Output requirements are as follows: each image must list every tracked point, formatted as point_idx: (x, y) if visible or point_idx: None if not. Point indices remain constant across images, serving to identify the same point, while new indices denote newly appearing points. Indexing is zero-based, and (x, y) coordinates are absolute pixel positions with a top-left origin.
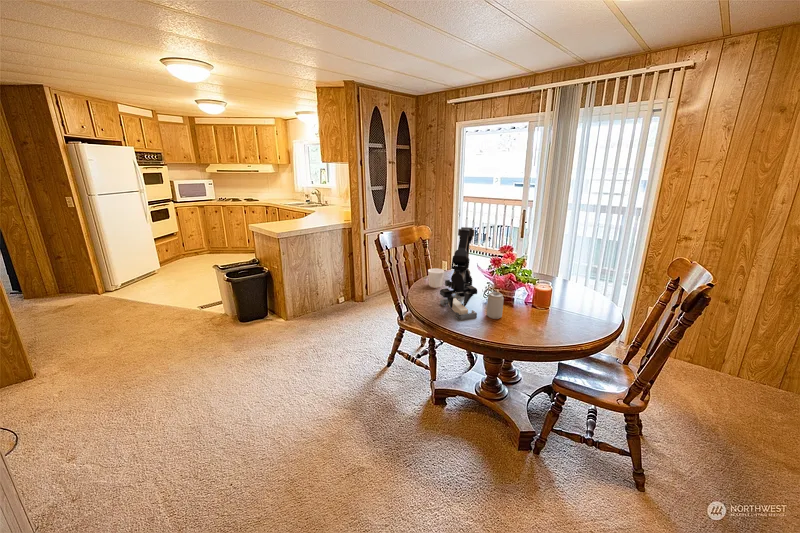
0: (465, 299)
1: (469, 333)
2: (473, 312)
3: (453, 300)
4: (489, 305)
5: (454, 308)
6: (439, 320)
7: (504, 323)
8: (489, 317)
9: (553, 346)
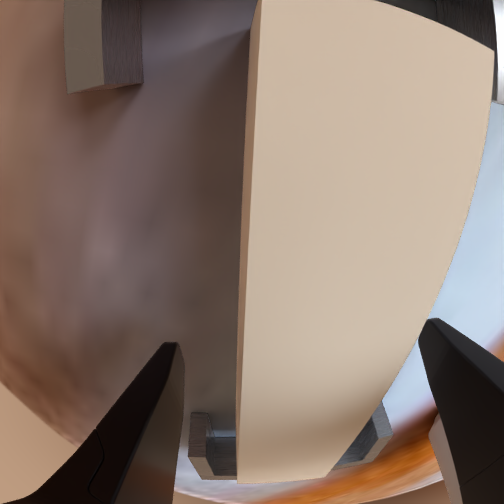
0: (472, 433)
1: (206, 492)
2: (366, 448)
3: (357, 190)
4: (453, 496)
5: (239, 344)
6: (50, 403)
7: (428, 448)
8: (436, 416)
9: (399, 494)
